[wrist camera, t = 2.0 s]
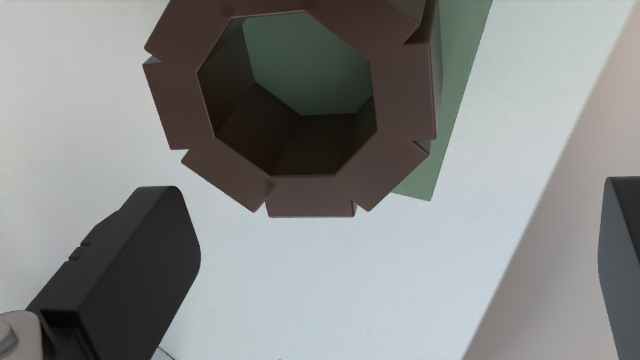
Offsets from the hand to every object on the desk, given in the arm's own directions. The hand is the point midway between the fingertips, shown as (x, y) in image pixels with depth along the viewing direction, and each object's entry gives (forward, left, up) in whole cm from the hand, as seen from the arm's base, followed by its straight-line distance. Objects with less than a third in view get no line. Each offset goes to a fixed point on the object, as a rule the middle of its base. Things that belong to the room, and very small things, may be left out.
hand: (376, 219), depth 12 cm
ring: (+2, -2, -9) cm, 10 cm away
